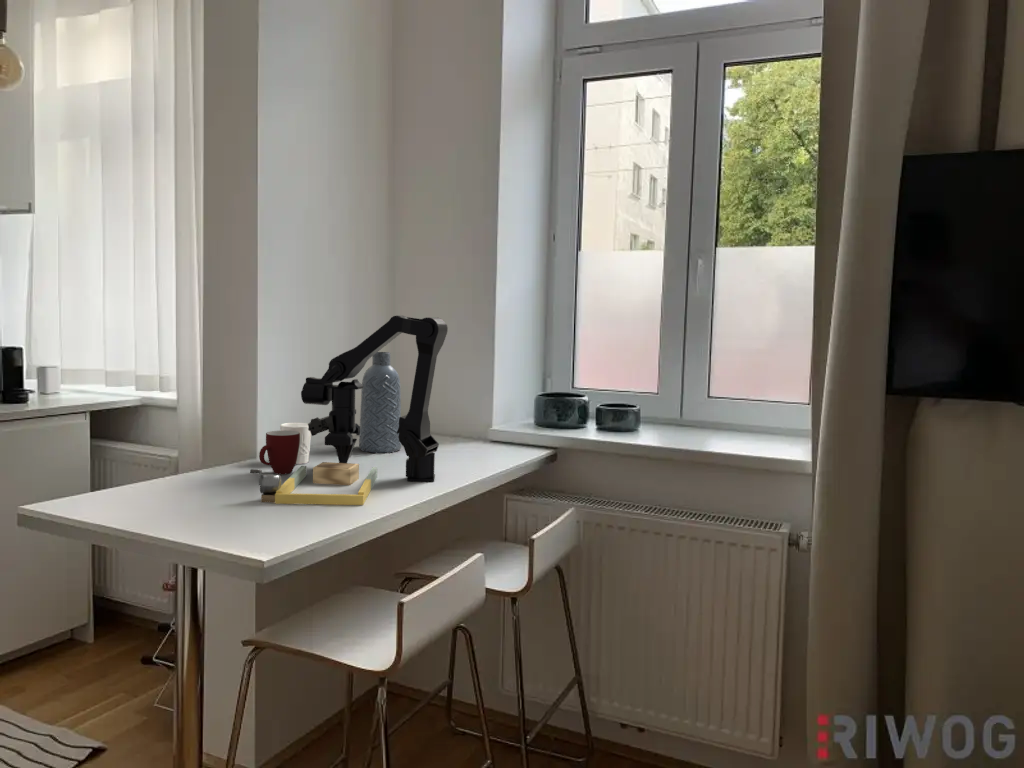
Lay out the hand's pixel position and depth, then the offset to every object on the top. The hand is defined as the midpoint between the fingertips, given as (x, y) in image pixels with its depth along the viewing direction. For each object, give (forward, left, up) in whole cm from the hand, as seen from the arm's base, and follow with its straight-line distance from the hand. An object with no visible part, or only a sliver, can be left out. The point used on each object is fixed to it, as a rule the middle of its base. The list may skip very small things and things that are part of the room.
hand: (342, 468), depth 208 cm
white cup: (+14, -12, -1) cm, 18 cm away
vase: (-6, -33, -1) cm, 33 cm away
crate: (0, +10, -1) cm, 11 cm away
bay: (0, +19, -1) cm, 20 cm away
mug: (+15, +3, -1) cm, 15 cm away
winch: (+12, +30, -1) cm, 33 cm away
